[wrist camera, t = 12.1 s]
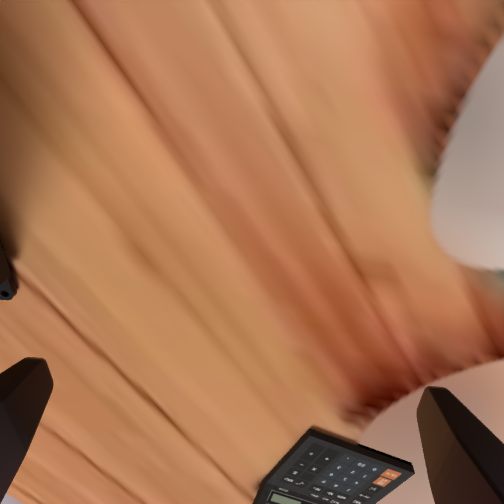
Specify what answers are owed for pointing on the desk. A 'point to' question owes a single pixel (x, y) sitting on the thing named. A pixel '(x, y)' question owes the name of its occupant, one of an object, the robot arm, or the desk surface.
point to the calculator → (332, 473)
